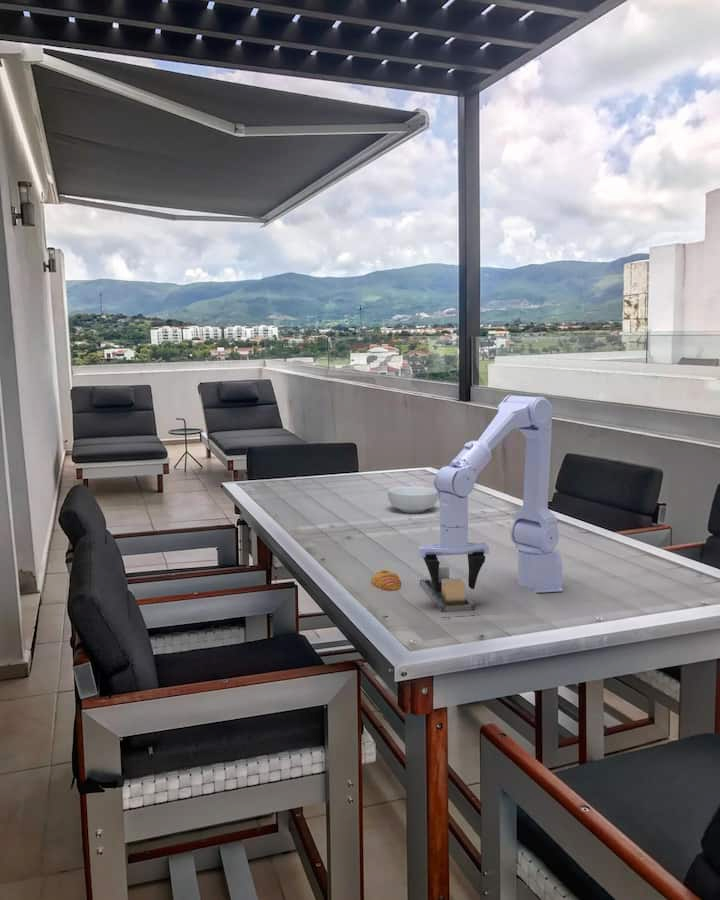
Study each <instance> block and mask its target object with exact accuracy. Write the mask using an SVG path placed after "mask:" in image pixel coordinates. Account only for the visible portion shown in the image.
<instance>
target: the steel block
mask: <svg viewBox="0 0 720 900" xmlns="http://www.w3.org/2000/svg"><path fill="white" fill-rule="evenodd" d="M426 567H427V566H426ZM426 573H427V585H428V586H429V587H430V588H431V590H434V589H433V584H432V580H431V576H430V573H429V570H428V567H427V571H426ZM449 578H450V567H449V565H448V564H447V563H446V562H440V563H439V573H438V580H439V591H436V592H442V579H449Z"/></svg>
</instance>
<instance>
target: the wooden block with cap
mask: <svg viewBox="0 0 720 900" xmlns="http://www.w3.org/2000/svg"><path fill="white" fill-rule="evenodd" d="M465 595H466V583H465V582H464V581H463V580H462V578H461V577H458V578H456V577H455V578H450V579H442V603H443V604H444V606H451V605H465Z"/></svg>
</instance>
